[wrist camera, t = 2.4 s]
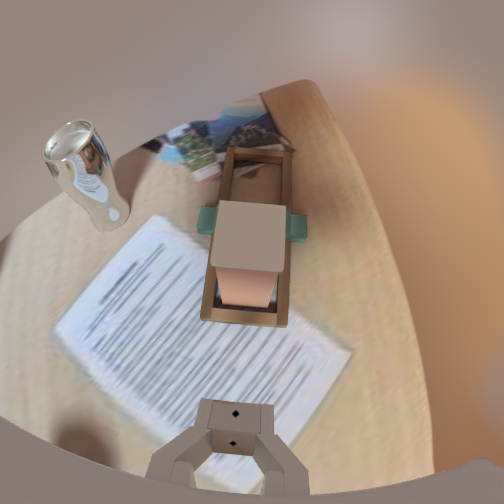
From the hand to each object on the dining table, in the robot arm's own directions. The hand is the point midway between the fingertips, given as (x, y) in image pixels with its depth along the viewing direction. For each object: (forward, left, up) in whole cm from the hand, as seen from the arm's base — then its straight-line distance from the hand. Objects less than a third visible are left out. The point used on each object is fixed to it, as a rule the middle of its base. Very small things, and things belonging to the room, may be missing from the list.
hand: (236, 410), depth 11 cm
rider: (0, +12, -20) cm, 24 cm away
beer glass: (-20, +21, -20) cm, 35 cm away
